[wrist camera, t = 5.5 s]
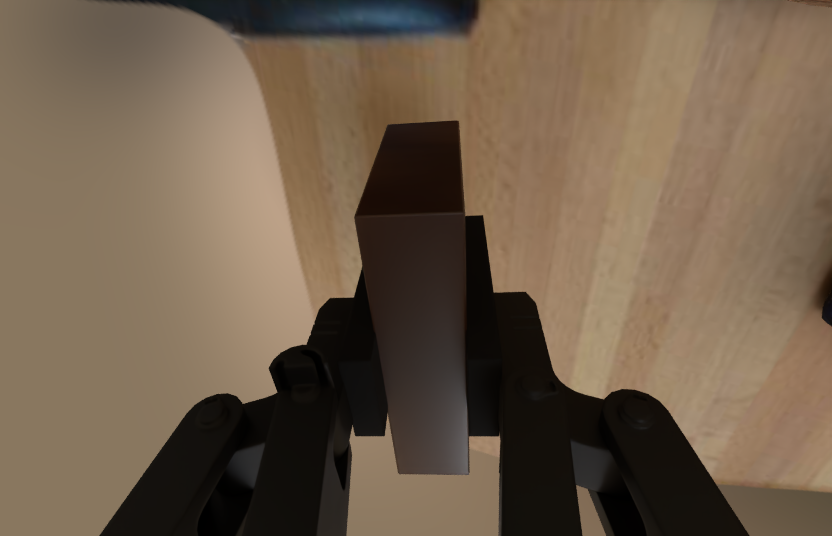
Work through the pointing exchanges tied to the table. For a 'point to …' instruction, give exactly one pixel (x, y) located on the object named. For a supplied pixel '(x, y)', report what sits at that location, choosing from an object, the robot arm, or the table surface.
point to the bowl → (815, 2)
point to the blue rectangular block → (827, 310)
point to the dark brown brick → (419, 292)
